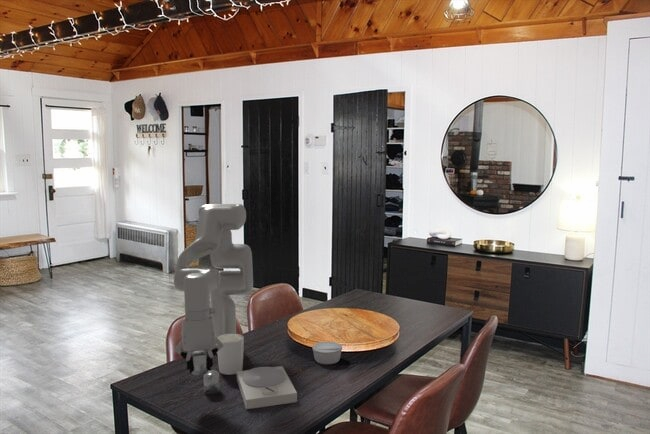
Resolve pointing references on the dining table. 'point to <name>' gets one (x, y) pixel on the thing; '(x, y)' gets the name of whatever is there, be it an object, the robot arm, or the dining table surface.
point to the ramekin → (327, 352)
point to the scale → (265, 387)
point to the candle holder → (231, 353)
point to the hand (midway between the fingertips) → (200, 369)
